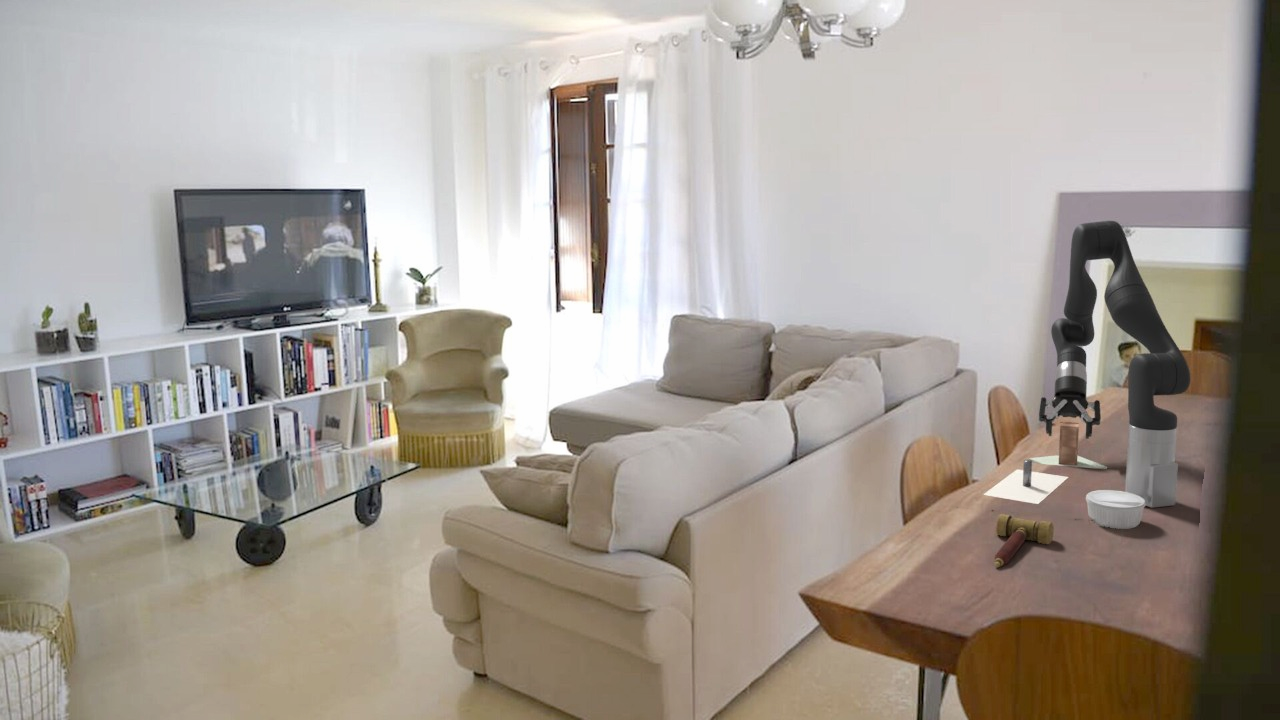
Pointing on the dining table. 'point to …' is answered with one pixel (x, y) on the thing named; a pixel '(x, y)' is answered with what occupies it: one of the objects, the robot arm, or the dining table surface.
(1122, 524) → the ramekin
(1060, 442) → the tan recessed-panel box
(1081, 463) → the mat
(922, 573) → the dining table surface
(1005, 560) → the gavel
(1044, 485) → the hook board
